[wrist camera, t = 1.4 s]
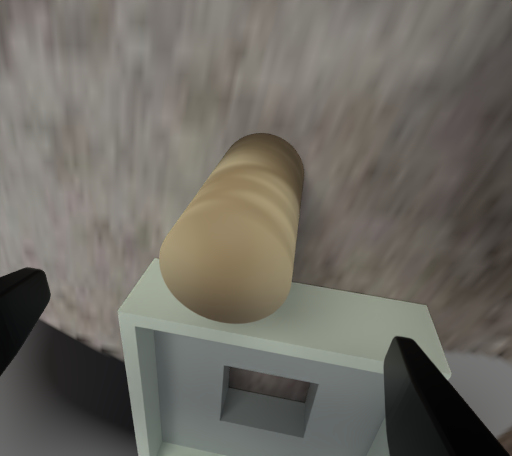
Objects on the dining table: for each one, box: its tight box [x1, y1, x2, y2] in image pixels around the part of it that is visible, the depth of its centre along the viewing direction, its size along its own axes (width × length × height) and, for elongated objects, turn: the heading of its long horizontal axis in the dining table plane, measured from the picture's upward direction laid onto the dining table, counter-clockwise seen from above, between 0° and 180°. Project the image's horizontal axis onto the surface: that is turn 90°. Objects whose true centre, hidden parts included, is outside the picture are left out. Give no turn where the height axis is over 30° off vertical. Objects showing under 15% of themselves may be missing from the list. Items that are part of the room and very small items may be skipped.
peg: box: [159, 133, 304, 324], centre depth 14 cm, size 4×4×8 cm
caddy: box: [118, 258, 452, 456], centre depth 22 cm, size 16×16×4 cm
